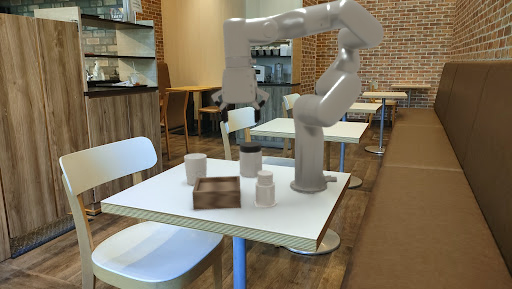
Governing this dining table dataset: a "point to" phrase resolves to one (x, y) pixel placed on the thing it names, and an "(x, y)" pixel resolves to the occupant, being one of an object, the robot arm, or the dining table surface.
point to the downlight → (265, 190)
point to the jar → (250, 159)
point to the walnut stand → (217, 193)
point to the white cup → (195, 167)
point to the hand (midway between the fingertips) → (241, 122)
